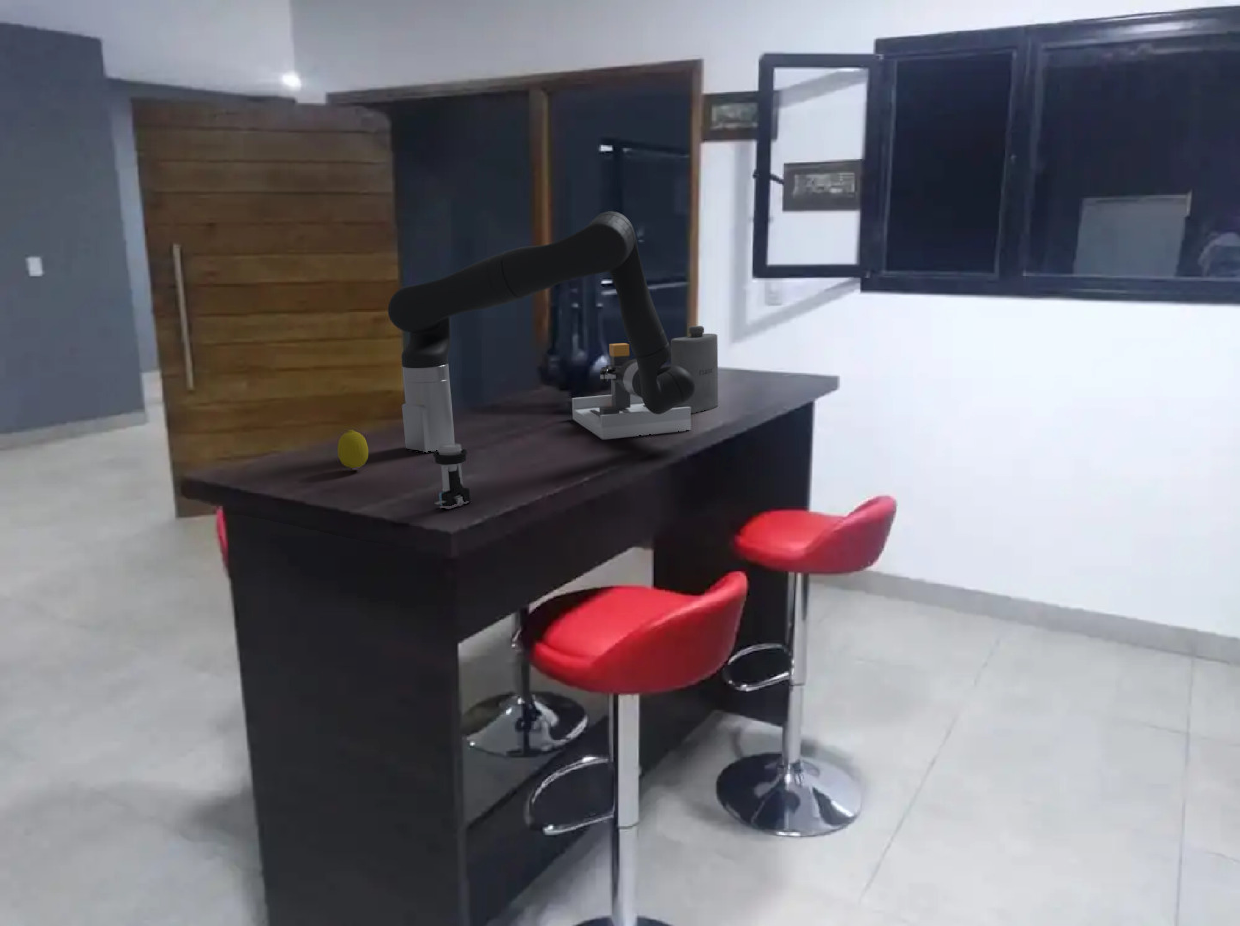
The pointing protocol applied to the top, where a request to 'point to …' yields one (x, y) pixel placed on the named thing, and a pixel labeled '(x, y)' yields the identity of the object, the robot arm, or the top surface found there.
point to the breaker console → (627, 418)
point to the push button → (451, 474)
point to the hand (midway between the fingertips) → (616, 369)
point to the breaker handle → (619, 396)
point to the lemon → (352, 449)
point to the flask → (698, 366)
